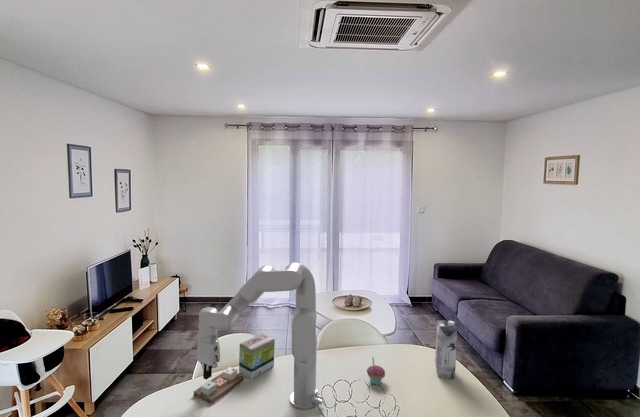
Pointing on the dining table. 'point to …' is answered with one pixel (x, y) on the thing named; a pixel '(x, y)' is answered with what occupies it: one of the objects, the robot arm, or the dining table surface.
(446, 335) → the juice carton
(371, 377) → the cupcake
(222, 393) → the tile board
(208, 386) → the pale grey square block
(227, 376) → the two-pip tile
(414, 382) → the dining table surface
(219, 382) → the pink three-dot die face
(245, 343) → the tea box
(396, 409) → the dining table surface
